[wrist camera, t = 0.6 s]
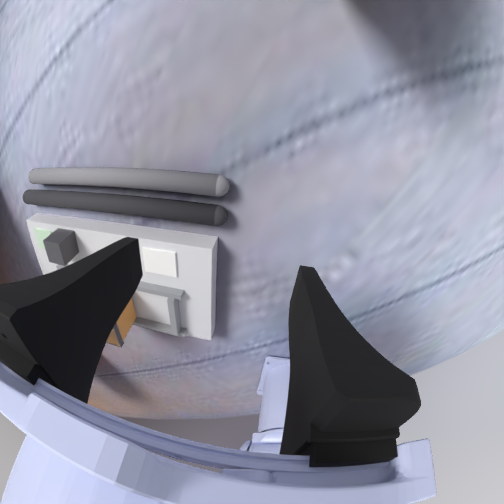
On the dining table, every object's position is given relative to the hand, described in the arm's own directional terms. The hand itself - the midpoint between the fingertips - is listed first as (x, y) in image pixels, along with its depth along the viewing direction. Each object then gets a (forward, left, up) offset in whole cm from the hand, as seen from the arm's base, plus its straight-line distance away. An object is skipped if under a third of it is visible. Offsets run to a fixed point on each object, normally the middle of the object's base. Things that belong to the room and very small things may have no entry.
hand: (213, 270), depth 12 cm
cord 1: (+1, +12, -10) cm, 16 cm away
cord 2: (-2, +13, -10) cm, 16 cm away
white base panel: (-10, +13, -10) cm, 19 cm away
